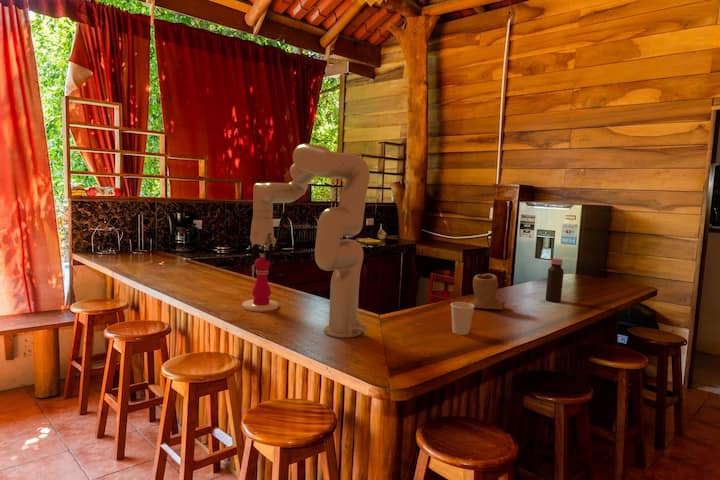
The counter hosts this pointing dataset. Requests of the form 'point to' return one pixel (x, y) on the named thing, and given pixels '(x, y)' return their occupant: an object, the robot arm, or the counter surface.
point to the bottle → (555, 281)
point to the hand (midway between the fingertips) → (262, 258)
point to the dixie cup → (461, 317)
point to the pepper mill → (261, 282)
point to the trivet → (259, 306)
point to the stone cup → (486, 292)
